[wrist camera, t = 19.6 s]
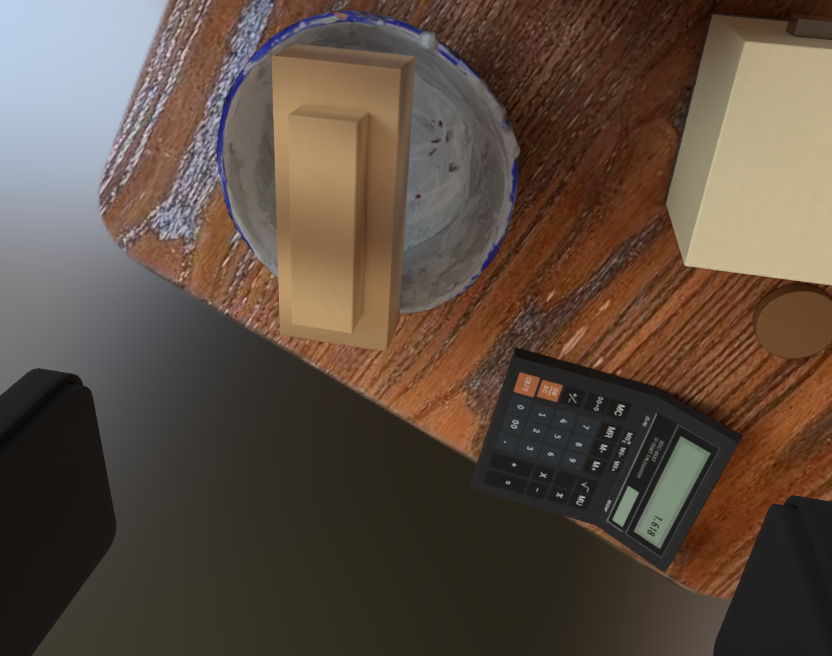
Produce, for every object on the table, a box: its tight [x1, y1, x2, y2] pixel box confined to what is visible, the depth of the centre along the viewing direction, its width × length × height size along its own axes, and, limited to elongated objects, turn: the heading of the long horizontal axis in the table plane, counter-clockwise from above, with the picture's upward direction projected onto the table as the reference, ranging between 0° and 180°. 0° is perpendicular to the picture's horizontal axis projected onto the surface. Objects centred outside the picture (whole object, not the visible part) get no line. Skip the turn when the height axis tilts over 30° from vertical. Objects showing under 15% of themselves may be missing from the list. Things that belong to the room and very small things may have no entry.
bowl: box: [216, 11, 520, 314], centre depth 33 cm, size 13×13×5 cm
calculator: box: [470, 348, 743, 572], centre depth 40 cm, size 9×12×3 cm
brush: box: [272, 44, 415, 351], centre depth 29 cm, size 11×4×6 cm, turn 177°
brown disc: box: [753, 284, 832, 359], centre depth 35 cm, size 4×4×1 cm
